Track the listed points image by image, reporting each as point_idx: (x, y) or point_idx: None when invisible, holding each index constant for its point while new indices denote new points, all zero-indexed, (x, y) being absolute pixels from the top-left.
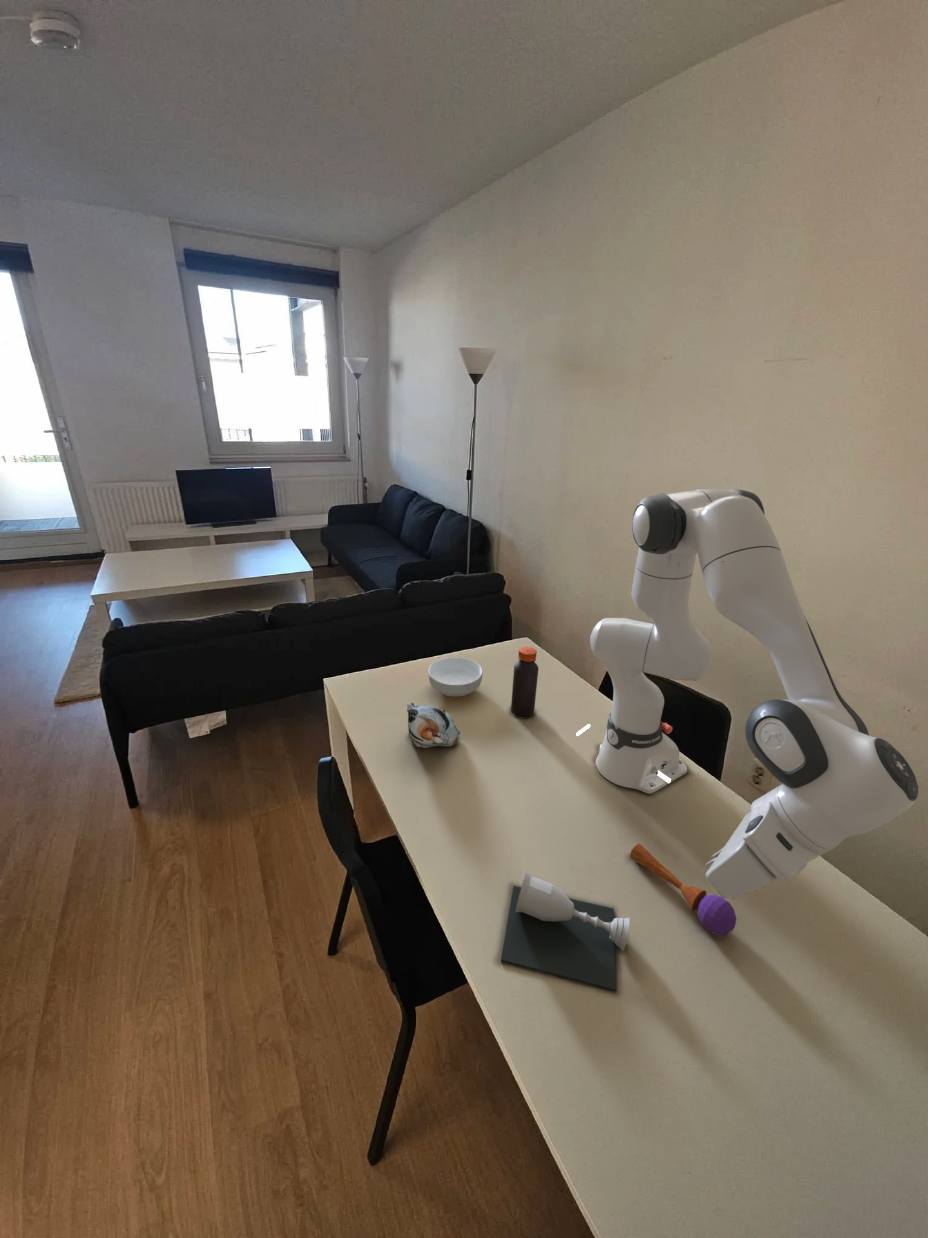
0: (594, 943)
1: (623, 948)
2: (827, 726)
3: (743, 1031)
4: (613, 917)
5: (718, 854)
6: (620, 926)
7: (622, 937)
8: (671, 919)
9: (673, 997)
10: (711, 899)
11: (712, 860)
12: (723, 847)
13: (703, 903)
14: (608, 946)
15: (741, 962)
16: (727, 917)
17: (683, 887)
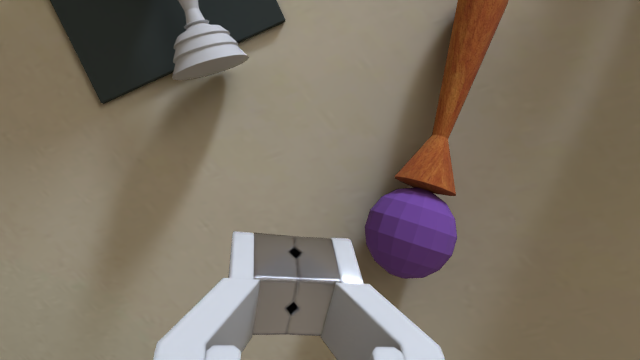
0: (167, 19)
1: (175, 78)
2: None
3: None
4: (262, 29)
5: (334, 287)
6: (189, 45)
7: (176, 63)
8: (354, 144)
9: (177, 206)
10: (421, 217)
11: (231, 276)
12: (390, 311)
13: (403, 201)
14: None
15: None
16: (399, 264)
17: (435, 141)
